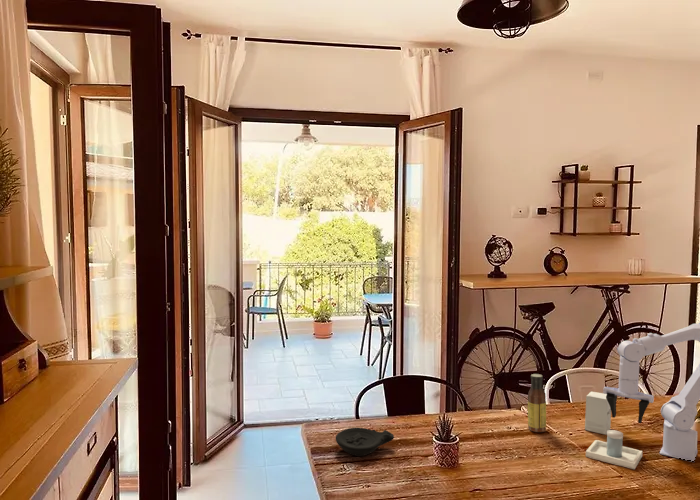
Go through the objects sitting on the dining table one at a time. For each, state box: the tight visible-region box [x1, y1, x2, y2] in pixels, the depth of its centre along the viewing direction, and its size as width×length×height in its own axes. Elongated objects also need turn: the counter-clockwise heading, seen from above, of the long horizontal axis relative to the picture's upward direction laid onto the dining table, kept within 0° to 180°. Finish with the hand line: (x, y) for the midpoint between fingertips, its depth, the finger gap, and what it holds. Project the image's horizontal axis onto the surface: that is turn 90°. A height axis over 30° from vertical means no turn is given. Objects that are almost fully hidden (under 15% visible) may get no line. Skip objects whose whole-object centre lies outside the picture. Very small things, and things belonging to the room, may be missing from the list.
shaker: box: [606, 429, 624, 458], centre depth 172 cm, size 5×5×7 cm
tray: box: [585, 439, 643, 470], centre depth 172 cm, size 14×12×2 cm
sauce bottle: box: [527, 373, 547, 433], centre depth 193 cm, size 6×6×20 cm
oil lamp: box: [335, 427, 395, 457], centre depth 174 cm, size 15×20×5 cm
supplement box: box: [584, 391, 612, 436], centre depth 195 cm, size 7×7×13 cm
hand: (626, 419), depth 176 cm, fingers open, 7 cm apart
